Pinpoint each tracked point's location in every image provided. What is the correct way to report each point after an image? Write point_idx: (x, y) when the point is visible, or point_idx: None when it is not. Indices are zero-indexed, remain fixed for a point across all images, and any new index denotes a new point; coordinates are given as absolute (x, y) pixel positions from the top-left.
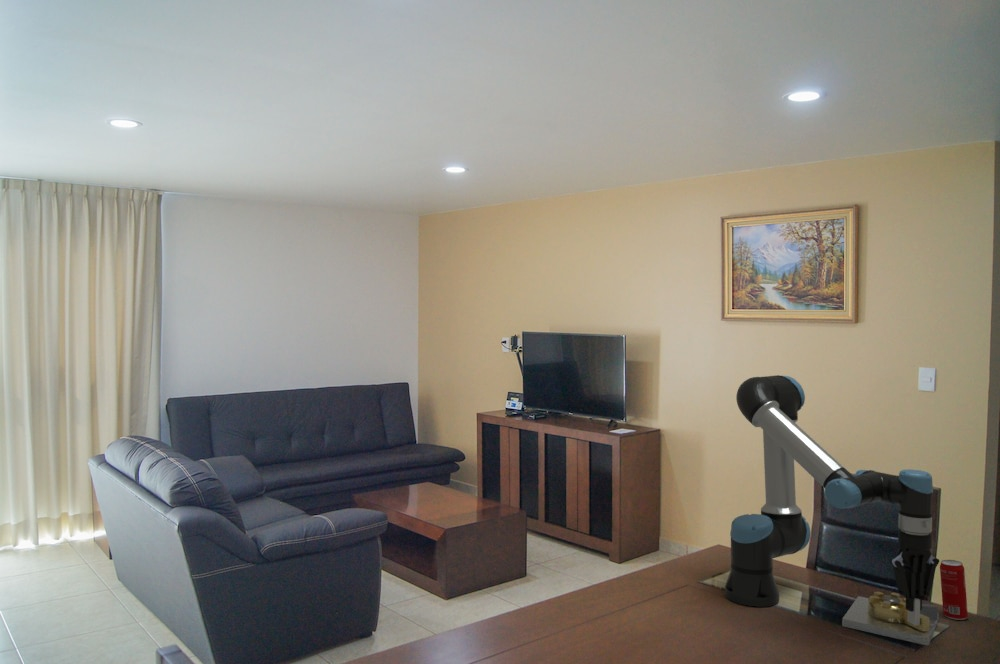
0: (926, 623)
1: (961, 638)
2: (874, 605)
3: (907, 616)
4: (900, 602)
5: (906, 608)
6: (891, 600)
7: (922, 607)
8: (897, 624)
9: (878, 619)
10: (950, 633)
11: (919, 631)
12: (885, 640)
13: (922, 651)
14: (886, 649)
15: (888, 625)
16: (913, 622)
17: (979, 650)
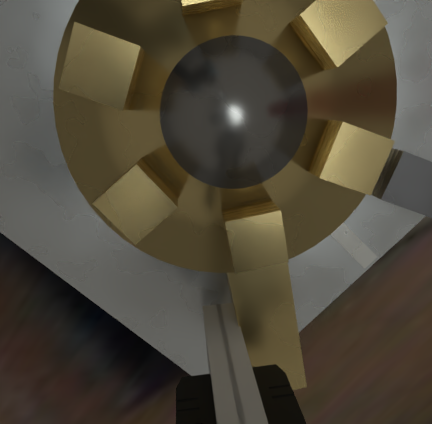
0: None
1: (423, 317)
2: (61, 146)
3: (205, 321)
4: (251, 217)
5: (179, 389)
6: (214, 151)
7: (409, 207)
8: None
9: None
10: (421, 266)
11: None
12: (53, 309)
13: (158, 414)
14: (5, 391)
15: (111, 249)
16: (207, 357)
17: (396, 417)
